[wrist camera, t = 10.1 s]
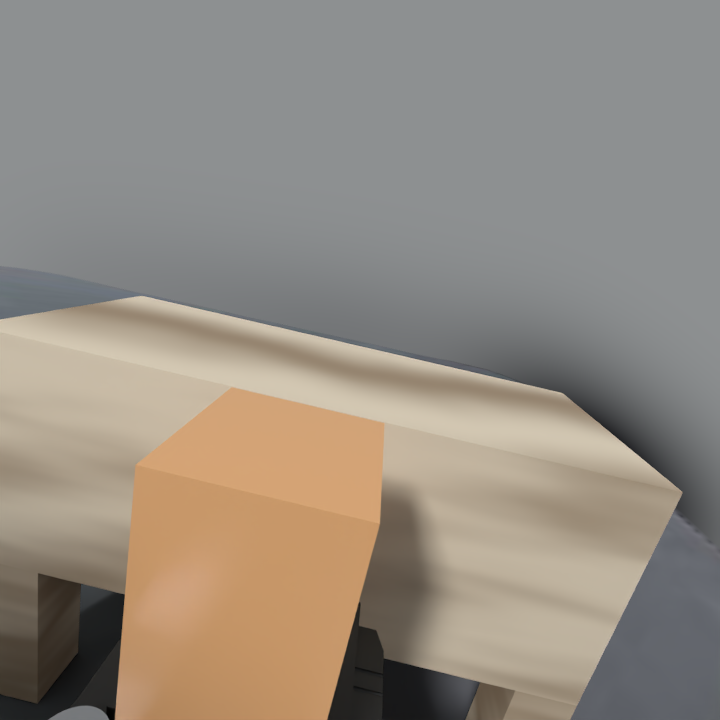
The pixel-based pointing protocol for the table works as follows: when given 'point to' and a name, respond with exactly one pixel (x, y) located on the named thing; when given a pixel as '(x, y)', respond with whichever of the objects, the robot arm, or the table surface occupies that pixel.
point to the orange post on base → (248, 561)
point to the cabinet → (398, 495)
